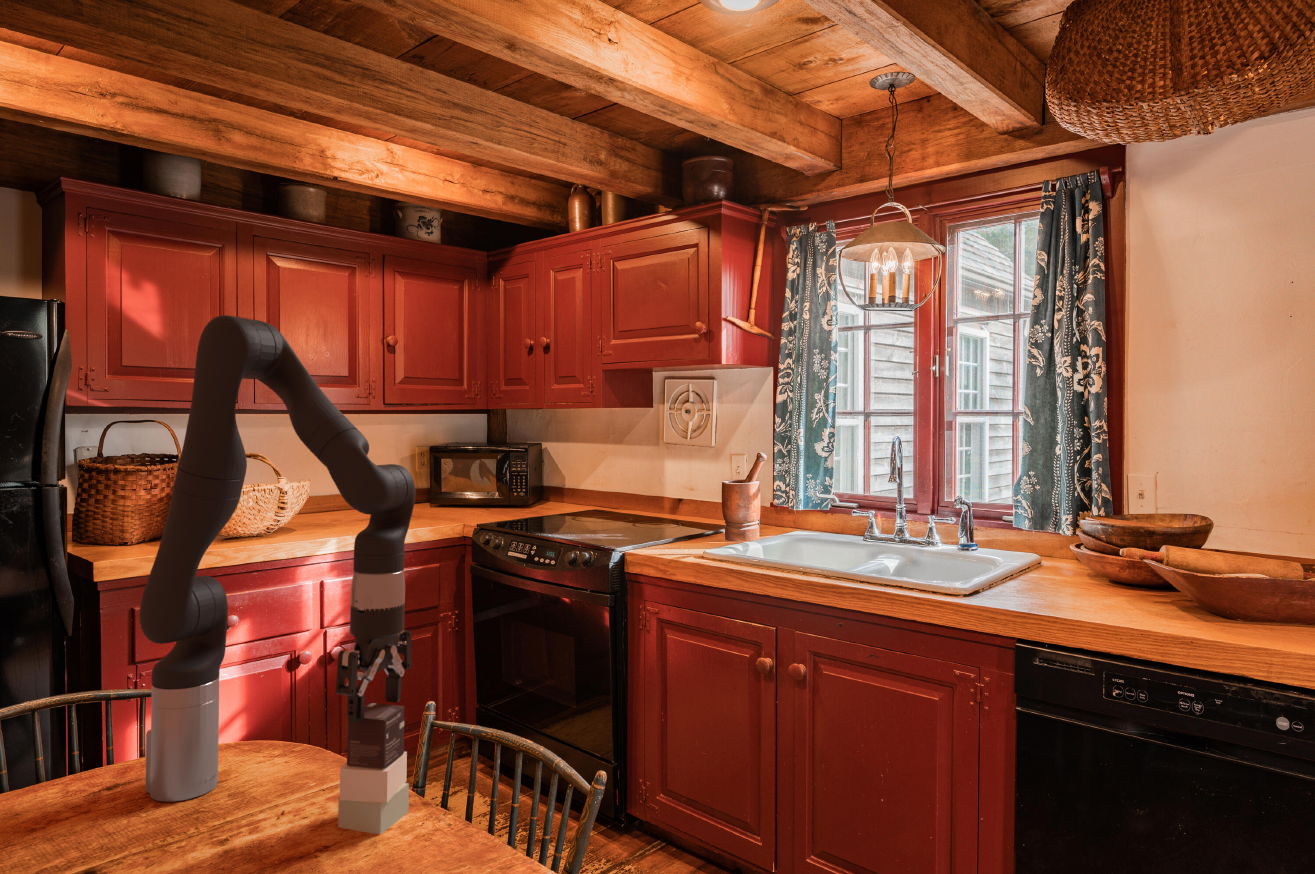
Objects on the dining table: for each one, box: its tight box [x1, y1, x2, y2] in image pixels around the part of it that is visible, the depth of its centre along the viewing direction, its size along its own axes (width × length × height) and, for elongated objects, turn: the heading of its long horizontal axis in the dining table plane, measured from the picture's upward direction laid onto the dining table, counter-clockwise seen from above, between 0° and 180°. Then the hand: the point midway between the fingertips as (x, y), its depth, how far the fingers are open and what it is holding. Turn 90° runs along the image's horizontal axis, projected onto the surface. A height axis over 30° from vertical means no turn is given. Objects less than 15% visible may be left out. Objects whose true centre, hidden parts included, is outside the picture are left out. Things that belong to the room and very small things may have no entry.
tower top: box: [339, 751, 408, 803], centre depth 117 cm, size 7×7×4 cm
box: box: [346, 702, 405, 769], centre depth 117 cm, size 6×6×7 cm
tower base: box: [337, 782, 410, 835], centre depth 117 cm, size 7×7×4 cm
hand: (374, 710), depth 117 cm, fingers open, 8 cm apart
